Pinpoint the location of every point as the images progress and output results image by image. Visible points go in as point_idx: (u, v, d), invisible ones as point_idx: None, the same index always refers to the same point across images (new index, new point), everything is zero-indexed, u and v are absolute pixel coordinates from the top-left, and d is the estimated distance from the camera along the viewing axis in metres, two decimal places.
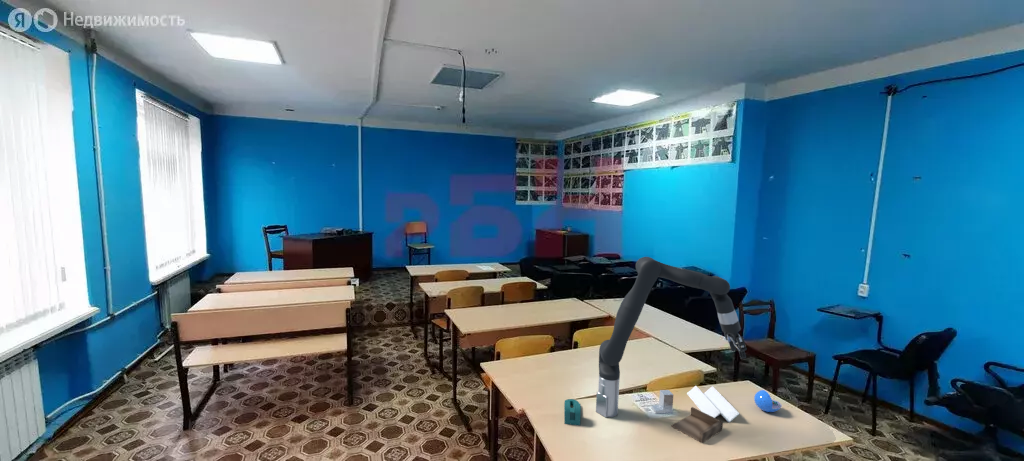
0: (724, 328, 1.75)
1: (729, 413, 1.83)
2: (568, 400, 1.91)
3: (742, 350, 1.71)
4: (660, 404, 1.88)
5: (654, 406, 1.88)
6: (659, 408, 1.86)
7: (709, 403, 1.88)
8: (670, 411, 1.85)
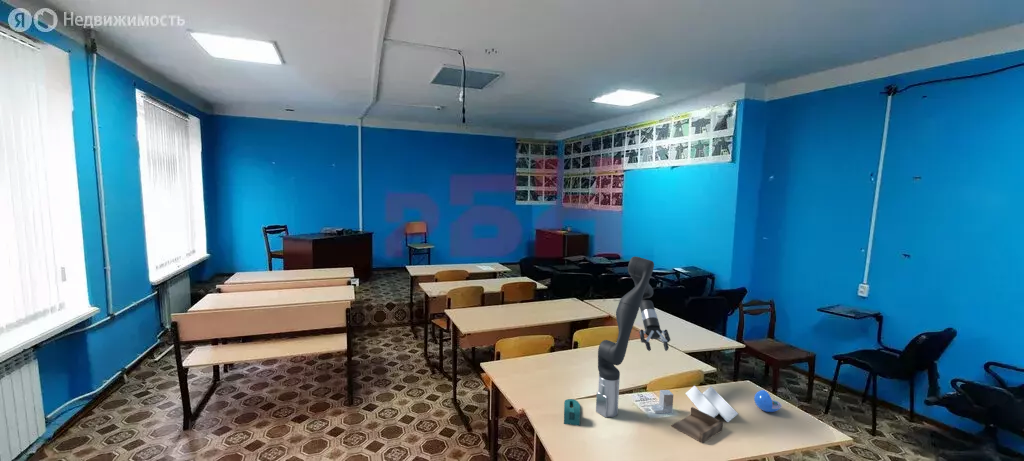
0: (657, 321, 2.03)
1: (727, 413, 1.83)
2: (568, 400, 1.90)
3: (669, 340, 1.99)
4: (660, 404, 1.88)
5: (654, 406, 1.88)
6: (659, 408, 1.86)
7: (708, 403, 1.88)
8: (670, 411, 1.85)
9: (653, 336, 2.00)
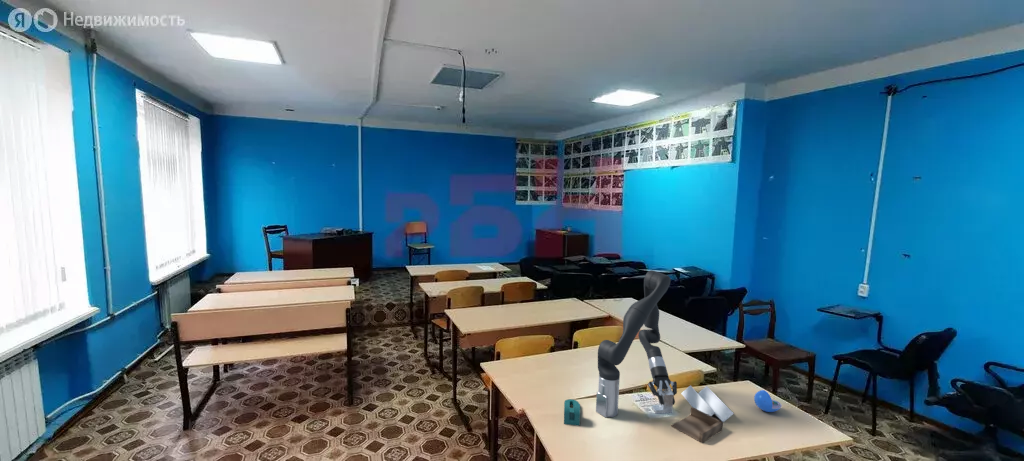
0: (665, 370, 1.92)
1: (723, 413, 1.83)
2: (568, 400, 1.90)
3: None
4: (660, 404, 1.88)
5: (654, 406, 1.88)
6: (659, 408, 1.86)
7: (703, 403, 1.88)
8: (670, 411, 1.85)
9: (662, 387, 1.89)
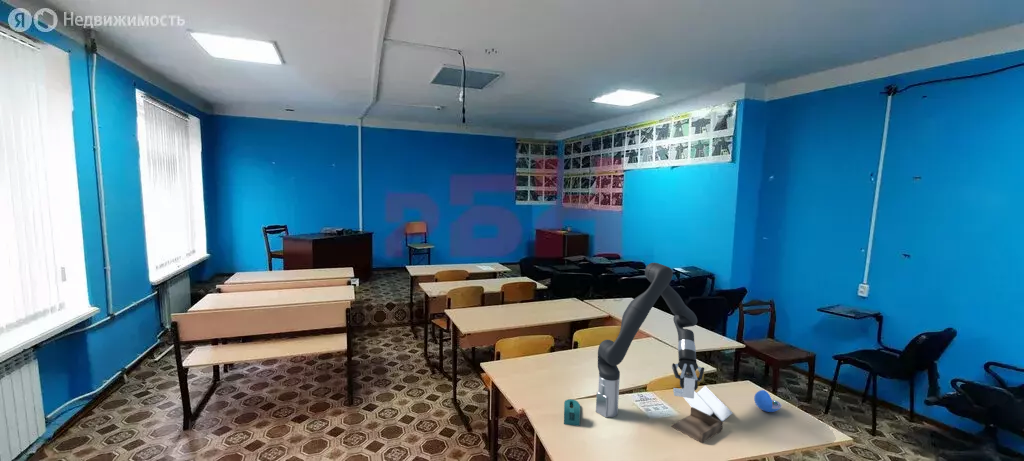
0: (692, 354, 1.82)
1: (722, 412, 1.83)
2: (568, 400, 1.90)
3: None
4: None
5: (675, 389, 1.81)
6: (680, 391, 1.78)
7: (702, 403, 1.88)
8: (691, 396, 1.76)
9: (685, 370, 1.80)
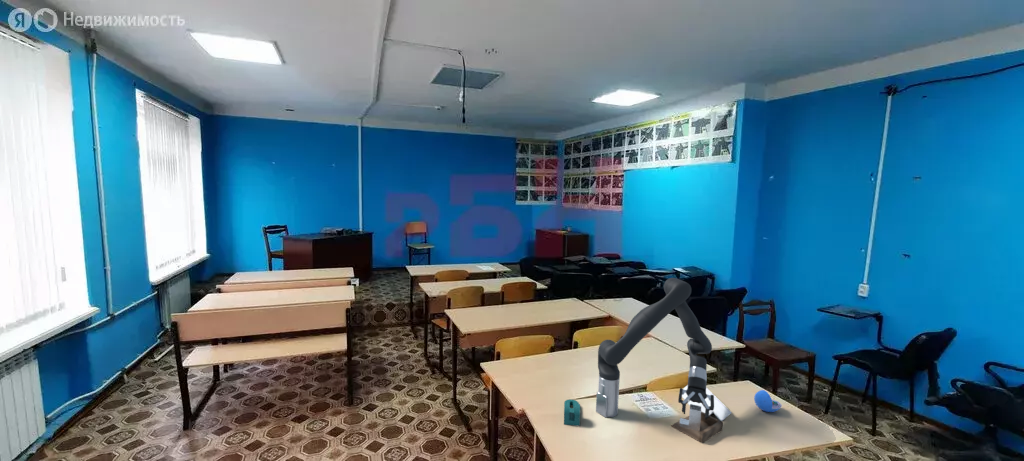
0: (702, 382, 1.77)
1: (721, 412, 1.83)
2: (568, 400, 1.90)
3: (713, 408, 1.71)
4: (689, 419, 1.75)
5: (682, 419, 1.77)
6: (686, 422, 1.74)
7: None
8: (697, 428, 1.71)
9: (693, 399, 1.75)
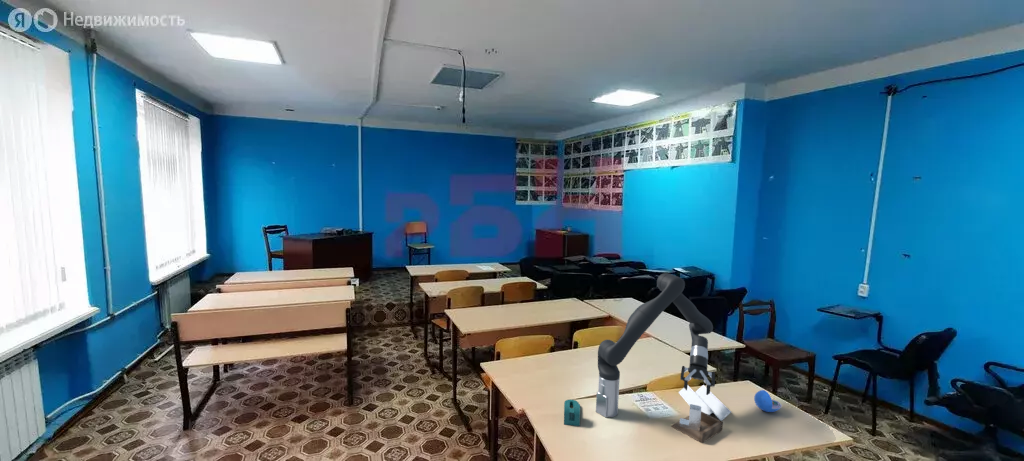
0: (703, 360, 1.84)
1: (721, 411, 1.84)
2: (568, 400, 1.90)
3: (714, 384, 1.78)
4: (689, 419, 1.75)
5: (682, 419, 1.77)
6: (686, 422, 1.74)
7: (701, 402, 1.89)
8: (697, 428, 1.71)
9: (695, 376, 1.82)
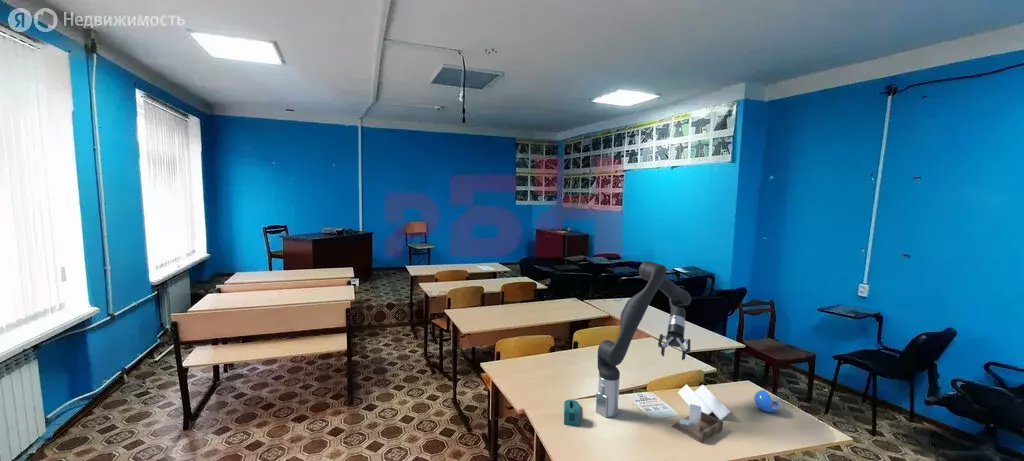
0: (680, 328, 1.93)
1: (720, 411, 1.84)
2: (568, 401, 1.90)
3: None
4: (689, 419, 1.75)
5: (682, 419, 1.77)
6: (686, 422, 1.74)
7: (700, 402, 1.89)
8: (697, 428, 1.71)
9: (671, 343, 1.91)
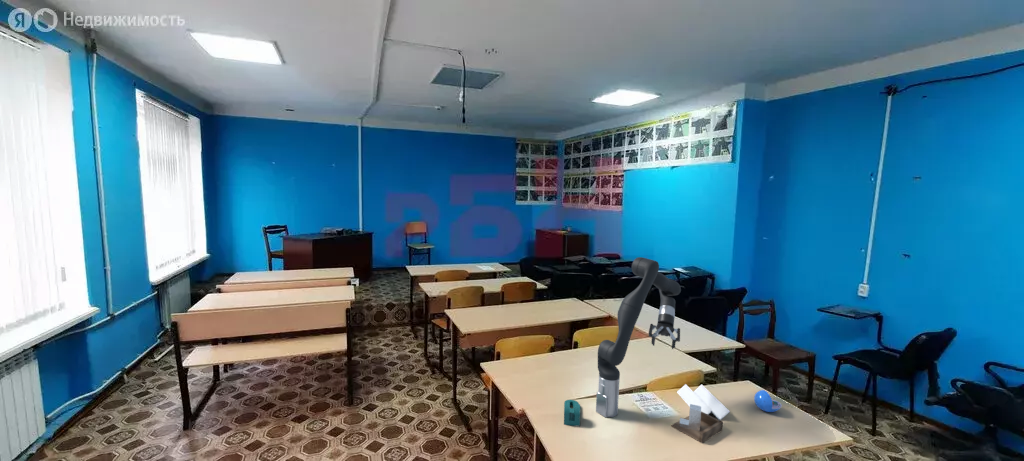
0: (670, 318, 1.95)
1: (719, 411, 1.84)
2: (568, 401, 1.90)
3: (679, 339, 1.90)
4: (689, 419, 1.75)
5: (682, 419, 1.77)
6: (686, 422, 1.74)
7: (700, 401, 1.89)
8: (697, 428, 1.71)
9: (662, 332, 1.94)
